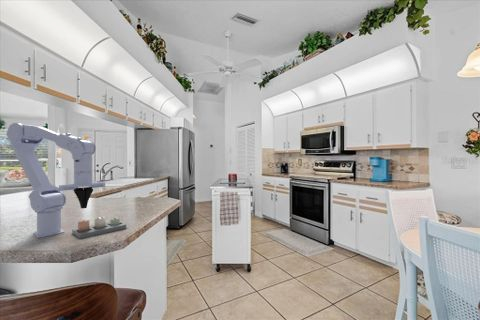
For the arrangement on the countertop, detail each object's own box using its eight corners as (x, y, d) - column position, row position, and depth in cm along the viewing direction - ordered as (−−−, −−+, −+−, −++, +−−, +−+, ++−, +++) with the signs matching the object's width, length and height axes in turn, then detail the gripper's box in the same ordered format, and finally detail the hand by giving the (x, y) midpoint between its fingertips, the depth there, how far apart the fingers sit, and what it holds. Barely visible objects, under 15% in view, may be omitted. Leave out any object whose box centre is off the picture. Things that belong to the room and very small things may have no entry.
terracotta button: (76, 230, 87) (76, 220, 87) (87, 228, 89) (87, 218, 89) (79, 232, 84) (79, 222, 84) (90, 229, 87) (90, 220, 87)
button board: (72, 233, 88) (72, 229, 88) (116, 224, 100) (116, 220, 100) (80, 238, 82) (80, 234, 82) (126, 228, 94) (126, 224, 94)
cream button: (93, 227, 91) (93, 217, 91) (103, 225, 93) (103, 216, 93) (96, 228, 88) (96, 219, 88) (106, 226, 91) (106, 217, 91)
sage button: (108, 227, 95) (108, 218, 95) (117, 225, 98) (117, 216, 98) (111, 229, 93) (111, 219, 93) (121, 227, 95) (121, 218, 95)
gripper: (62, 173, 79) (62, 212, 79) (108, 171, 90) (108, 206, 90) (57, 172, 83) (57, 210, 83) (101, 171, 94) (101, 204, 94)
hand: (83, 208), depth 87 cm, fingers closed
